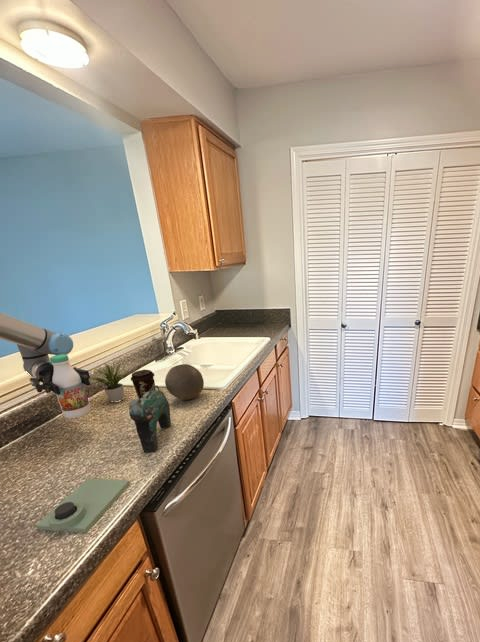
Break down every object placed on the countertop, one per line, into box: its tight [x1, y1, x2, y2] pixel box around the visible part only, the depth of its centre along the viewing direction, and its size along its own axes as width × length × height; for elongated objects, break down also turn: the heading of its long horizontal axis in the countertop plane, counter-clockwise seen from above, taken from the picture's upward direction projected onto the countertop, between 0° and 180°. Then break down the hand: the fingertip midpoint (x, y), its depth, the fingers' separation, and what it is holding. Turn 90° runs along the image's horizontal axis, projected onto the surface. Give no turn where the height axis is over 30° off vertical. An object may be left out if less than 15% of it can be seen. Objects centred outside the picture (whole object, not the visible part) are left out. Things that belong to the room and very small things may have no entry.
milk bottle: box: [49, 354, 92, 419], centre depth 103 cm, size 8×8×20 cm
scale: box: [35, 478, 131, 534], centre depth 77 cm, size 17×12×3 cm
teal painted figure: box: [128, 384, 172, 454], centre depth 102 cm, size 20×6×20 cm, turn 3°
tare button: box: [54, 502, 76, 520], centre depth 72 cm, size 4×4×2 cm
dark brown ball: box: [164, 363, 205, 401], centre depth 130 cm, size 14×14×15 cm
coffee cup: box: [130, 369, 157, 399], centre depth 130 cm, size 9×8×13 cm
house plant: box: [89, 360, 126, 402], centre depth 134 cm, size 14×14×16 cm
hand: (73, 385), depth 100 cm, fingers closed on milk bottle, 8 cm apart
